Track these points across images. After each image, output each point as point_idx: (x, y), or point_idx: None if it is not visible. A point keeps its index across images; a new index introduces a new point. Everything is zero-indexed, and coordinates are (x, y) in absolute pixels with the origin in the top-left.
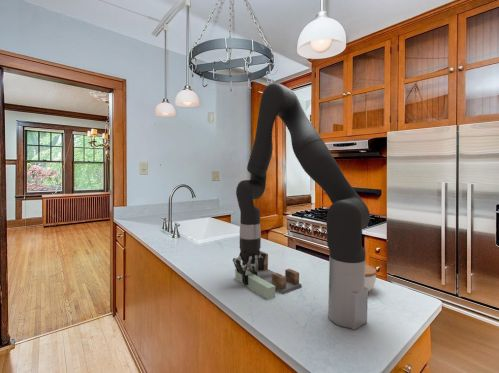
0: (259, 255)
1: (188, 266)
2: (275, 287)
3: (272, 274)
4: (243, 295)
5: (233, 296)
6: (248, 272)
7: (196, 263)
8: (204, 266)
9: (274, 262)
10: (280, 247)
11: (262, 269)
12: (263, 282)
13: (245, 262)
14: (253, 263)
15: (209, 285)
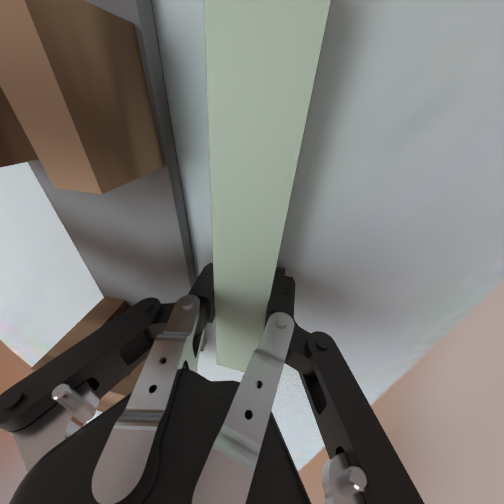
0: (74, 423)
1: (309, 431)
2: (159, 114)
3: (102, 183)
4: (386, 206)
5: (437, 237)
6: (226, 326)
7: (279, 426)
8: (276, 412)
9: (61, 313)
10: (17, 348)
11: (127, 308)
12: (252, 151)
13: (279, 436)
14: (190, 375)
15: (386, 361)
